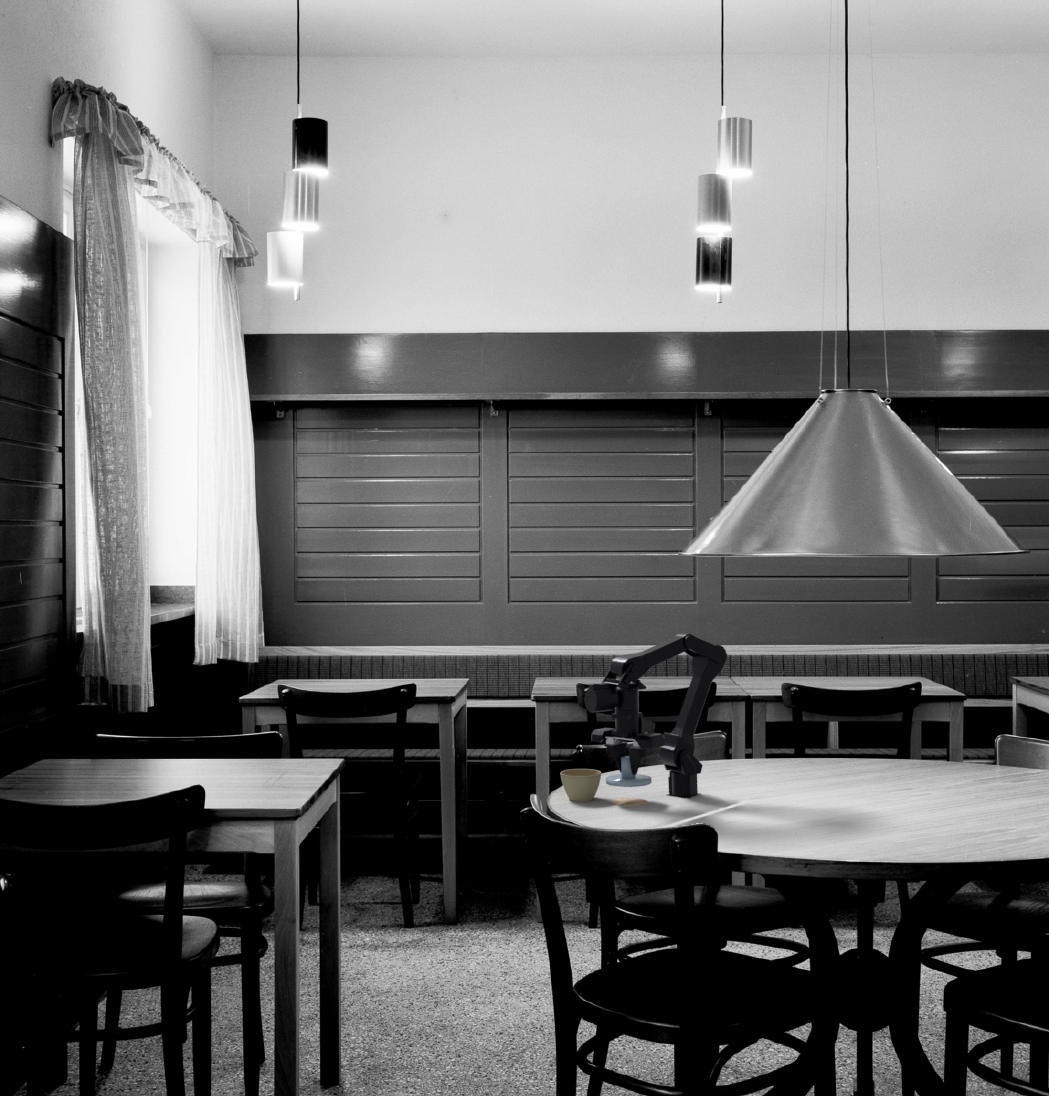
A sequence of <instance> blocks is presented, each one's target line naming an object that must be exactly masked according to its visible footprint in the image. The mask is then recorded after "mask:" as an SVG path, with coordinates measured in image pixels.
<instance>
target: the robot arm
mask: <svg viewBox="0 0 1049 1096" xmlns="http://www.w3.org/2000/svg"><path fill="white" fill-rule="evenodd" d="M684 653H685V655H687V656H689V657H690V658H692V659H691V669H692V677H691V681H690V683H689V687H688V688H687V689H688V690H687V693H686V695H685V698H684V701H683V703H682V707H681V709H680V712H679V715H678V718H677V721H676V724H675V725H674V726H675V727H674V728H673V729H672V730H671V732H663V734H662V733H657V732H655V728H656V722H653V721H650V720H647V719H645V718H644V713H643V712H642V711H641V712H639V711H640V710H639V709H640V708H639V707H640V703H639V698H640V697H639V691H641V690H646V689H647V686H646V685H645V684H644V683H643V682H642V681H641V680H640V679H641V678H642V677H644V676H645V675H646V674H647V673H648V672H649V671H650V670H651V669H652V668H653V667H655V666H657V665H659V664H661V663H663V662H666V661H668V660H670V659H672V658H674V657H676V656H679V655H681V654H684ZM727 660H728V653H727V651H726V648H724V646H723V645H720V644H713V643H712V642H708V641H705V640H703V639H700V638H699V637H697V636H695V635H694V634H691V633H683V632H681V633H678V634H676V635H675V636H673V637H670V638H669V639H666V640H665V641H663V642H661V643H658V644H656V645H654V646H651V647H649V648H647V649H645V650H643V651H639V652H635V653H627V654H623V655H619V656H615V657H614V658H613V659H612V660H611V664H610V668H608V671H607V673H606V674H605V676H604V678H603V680H602V681H601V683H594V682H592V683H591V682H590V683H588V689H587V690H586V691H585V693H584V694H585V695H584V698H583V700H584V705H585V709H586V710H587V711H588V712H589V713H599V712H609V711H613V710H614V713H611V719H614V720H615V721H614V723H615V728H611V727H603V728H596V729H593V731H592V732H591V738H590V739H591V742H594V743H600V744H601V743H602V742H603V741H604V740H605V743H604V744H603V746H604V747H605V748H606V749H607V750H608V752H609V753H610V755H611V757H612V759H613V760H614V762H615V765H616V767H617V770H619V774H621V757H624V756H626V752H625V750H626V747H627V749H628V750H627V751H628V756H629V758H630V764H631V770H632V774H633V775H636V774H638V771H639V768H640V765H641V762H642V758H643V757H644V754H645V752H647V750H649V749H651V750H652V749H655V748H658V749H659V752H658V756H659V758H660V760H661V762H662V763H663V765H664V768H665V770H666V771H668V772H669V773H668V774H669V775H668V778H667V779H668V781H667V782H668V794H666V796H668V797H673V798H680V799H691V798H693V797H697V796H700V795H702V793H699V791H698V774H701V773H702V770H703V764H702V762H701V761H699V760H698V759H697V758H696V757H695V749H696V744H695V737H694V736H695V732H696V729H697V726H698V723H699V719H700V717H701V715H702V711H703V709H704V705H705V702H706V700H707V698H708V694H709V691H710V689H711V686H712V682H713V681H714V680H715V679H716V678H717V677H718V676H719V675H720V674H721V672H722V671H723V669H724V667H725V665H726V663H727ZM628 743H633V744H632V745H633V746H629V747H628V746H627V745H628Z"/></svg>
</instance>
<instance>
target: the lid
mask: <svg viewBox="0 0 1049 1096" xmlns="http://www.w3.org/2000/svg"><path fill="white" fill-rule="evenodd" d="M652 781H653V780H652V777H651V776H650V775H646V774H641V773H637V774H636V775H633V774H632V770H631V764H630V758H629V755H627V756H626V755H625V756H624V757H621V773H619V774H612V775H608V776H606V777H605V784H606V785H609V786H613V787H621V788H622V787H623V788H632V787H633V788H635V787H636V788H637V787H645V786H648V785H649V786H650V785H651V784H652Z"/></svg>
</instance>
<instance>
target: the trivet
mask: <svg viewBox="0 0 1049 1096" xmlns="http://www.w3.org/2000/svg"><path fill="white" fill-rule="evenodd" d="M649 802H650V801H648V800H646V799H643V798H635V797H633V798H631V797H630V798H619V799H614V800H612V801H610V803H611V805H613V806H618V807H634V808H635V807H641V806H647V805H648V804H649Z"/></svg>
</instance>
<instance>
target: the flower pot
mask: <svg viewBox="0 0 1049 1096" xmlns="http://www.w3.org/2000/svg"><path fill="white" fill-rule="evenodd" d="M601 777H602V772H601V770H597V769H591V768H590V769H589V768H572V769H565V770H562V771H561V772H560V779H561V784H562V786H563V789H564V791H565V794H566V795H567V798H568V799H569V800H570V801H572V802H580V803H581V802H589V801H592V800H594V798H595V795H596V793H597V792H598V789H599V786H600V782H601Z"/></svg>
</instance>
